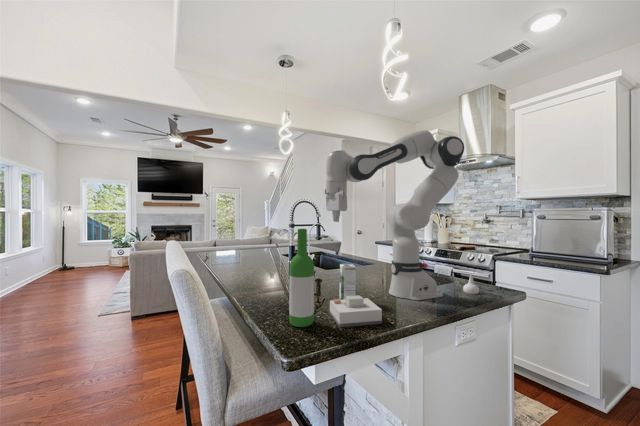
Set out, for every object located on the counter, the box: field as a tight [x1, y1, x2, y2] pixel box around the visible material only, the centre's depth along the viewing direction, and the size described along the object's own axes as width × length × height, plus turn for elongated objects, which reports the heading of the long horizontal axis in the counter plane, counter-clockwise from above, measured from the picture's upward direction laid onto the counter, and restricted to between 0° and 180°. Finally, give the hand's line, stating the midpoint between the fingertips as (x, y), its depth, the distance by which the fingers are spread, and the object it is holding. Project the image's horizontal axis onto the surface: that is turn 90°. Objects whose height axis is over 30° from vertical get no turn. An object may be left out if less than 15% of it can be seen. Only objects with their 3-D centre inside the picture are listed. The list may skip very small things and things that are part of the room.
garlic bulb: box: [462, 274, 480, 295], centre depth 126 cm, size 6×6×8 cm
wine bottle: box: [288, 228, 315, 328], centre depth 90 cm, size 8×8×30 cm
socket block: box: [329, 297, 383, 328], centre depth 95 cm, size 14×12×5 cm
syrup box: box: [338, 263, 357, 300], centre depth 112 cm, size 6×6×14 cm
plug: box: [346, 294, 364, 308], centre depth 95 cm, size 5×4×6 cm
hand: (336, 221), depth 121 cm, fingers closed
